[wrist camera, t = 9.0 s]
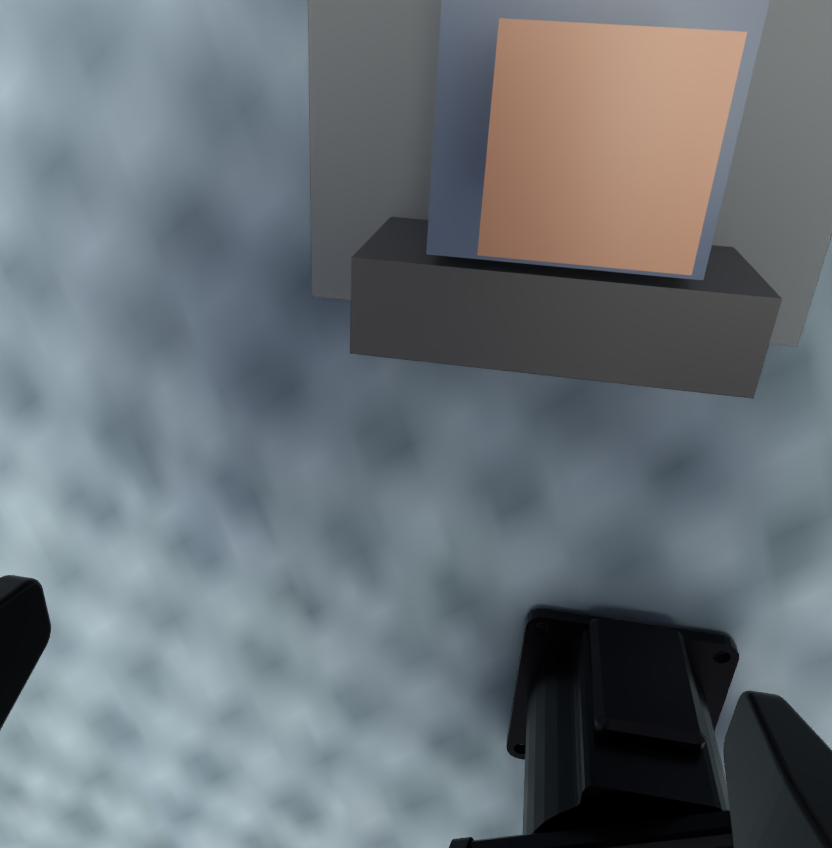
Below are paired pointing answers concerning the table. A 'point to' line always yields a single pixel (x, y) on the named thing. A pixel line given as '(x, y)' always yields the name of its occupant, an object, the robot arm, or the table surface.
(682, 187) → the traveler car
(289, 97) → the table surface
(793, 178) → the traveler track
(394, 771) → the table surface
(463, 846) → the robot arm
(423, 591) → the table surface
